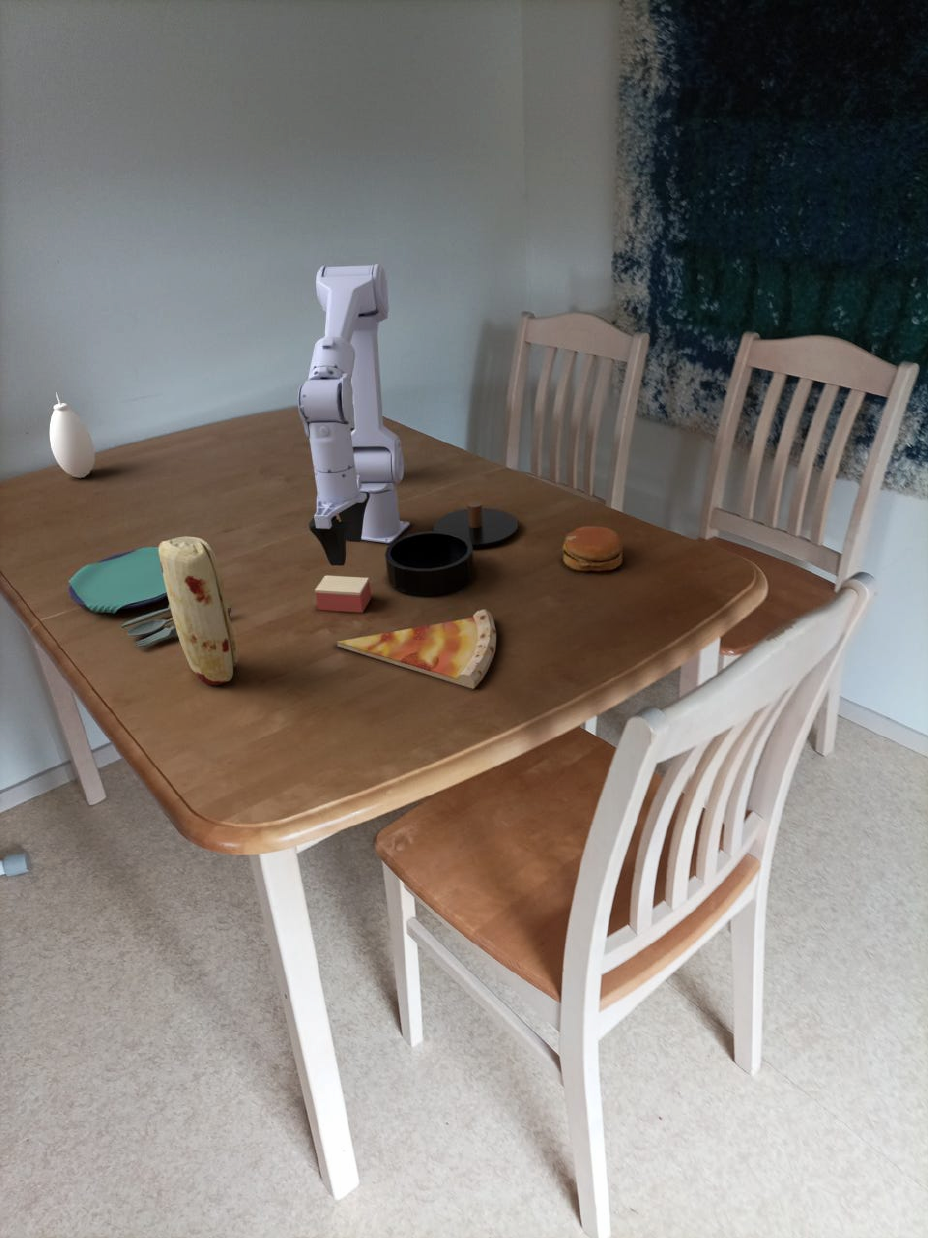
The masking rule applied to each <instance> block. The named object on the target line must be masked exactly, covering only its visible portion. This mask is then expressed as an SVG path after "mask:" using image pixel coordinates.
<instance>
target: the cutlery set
mask: <svg viewBox="0 0 928 1238" xmlns="http://www.w3.org/2000/svg"><path fill="white" fill-rule="evenodd" d="M158 548H159V546H156V547H155V546H151V547H149V546H145V547H142V548H139V549H136V550H130V551H126V552H122V553H118V554H114V555H111V556H109V557H107V558H104V559H101V560H99V561H97V562H93V563H90V564H86V565H84V566H83V567H82V568H80V569H79V571H77V572H76V573H75V574H74V575H73V576H72V577H71V578H69V580H68V581H67V582H68V583H69V587H68V592H69V595H70V599H71V600H73V601H74V602H75V603H77V604H78V605H79V606H82V607H86V608H88V610H90V611H91V612H93V613H99V614H100V613H102V614H104V613H108V614H115V613H116V612H117V611H118V610H126V609H132V608H133V609H134V608H138V607H142V606H146V605H149V604H153V603H156V602H159V601H161V600H164V599H166V598H168V595H167V591H166V587H165V582H164V577H163V572H162V568H161V563H160V557H159V551H158ZM228 608H229V613H230V614H231V613H232V608H231V606H229V605H228ZM169 612H170V613H171V614H172V611H171V607H170V604H168V605H167V608H164V609H159V610H157V611H152V612H150V613H147V614H144V615H142V616H139V617H136V618H133V619H130V620H128V621H126V622H124V623H122V624H121V626H120V627H121V629H125V628H127V627H129V626H132V625H135V624H136V625H135V626H132V627H131V628H130V629H129V630H127V632H126V634H127V636H129V637H144V636H148V635H150V636H148V637H145V638H144V639H141V640H138V641H135V642H134V644H135V647H137V648H138V649H139V648H143V647H147V646H149V645H151V644H154V643H157V642H162V641H166V640H168V639H170V638H173V637H174V636H175V635H178V634H177V631H176V627H175V625H171V626H170V627H164V626H165V625H167V624H169V623H171V622H174V620H173V616H172V617H170V618H169V619H164V618H163V619H162V618H161V619H160V618H159V619H154V618H156V617H158V616H160V615H164V614H167V613H169ZM152 618H153V619H152ZM149 619H151V620H149ZM147 620H148V621H147ZM141 622H142V623H141ZM138 623H139V624H138ZM163 627H164V628H163ZM162 628H163V629H162ZM161 629H162V630H161Z"/></svg>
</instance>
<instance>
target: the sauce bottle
mask: <svg viewBox="0 0 928 1238" xmlns="http://www.w3.org/2000/svg"><path fill="white" fill-rule="evenodd" d="M55 396H56V399H57V404H55V405H53V413H52V415H51V418H50V424H49V442H50V447H51V450H52V453H53V456H54V458H55V460H56V462H57V464H58V465H59V467H60V468H61V469H62V470H63V471H64V472H65V473H66V474H68V475H71V476H72V477H74V478H78V479H82V478H85V477H86V476H87V475H89V474H90V472H91V471H92V470H93V469H94V466H95V462H96V450H95V444H94V441H93V439H92V437H91V434H90V432H89V430H88V429H87V427H86V425H85V424H84V422H83V421H82V420H81V419H80V417H79V416H78V415H77V414H76V412H75V411H74V410H72V409H71V408H69V405H68V404H67V403H66V402H65V403H63V402H61V397H60V395H59V394H58V392H57V391H56V392H55ZM84 473H85V474H84ZM73 474H74V475H73Z"/></svg>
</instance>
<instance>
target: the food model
mask: <svg viewBox="0 0 928 1238" xmlns="http://www.w3.org/2000/svg"><path fill="white" fill-rule="evenodd" d="M158 547H159V548H158V551H159V557H160V563H161V568H162V572H163V577H164V582H165V587H166V591H167V595H168V597H167V599H168V603H169V605H170V607H171V611H172V613H171V616H172V617H173V623H174V627H176V631H177V634H176V635H177V637H178V640H179V643H180V646H181V648H182V651H183V653H184V655H185V658H186V660H187V663H188V666H189V667H190V669H191V671H192V672H193V673H194V675H195V676H196V677H197V678H198V679H199V680H200V681H202V682H203V683H204V684H207V685H210V686H220V685H222V684H225V683H228V682H230V681H231V680H232V677H233V676H234V675H233V674H234V667H235V666H236V664H237V663H238V660H239V659H238V651H237V644H236V639H235V634H234V629H233V623H232V619H231V613H229V608H228V606H229V603H228V599H227V596H226V592H225V587H224V582H223V579H222V573H221V568H220V565H219V562H218V559H217V556H216V554H215V552H214V550H213V548H211V546H210V544H209V543H208V542H206V540H204V539H202V538H201V537H196V536H186V535H185V536H179V537H173V538H171V539H168V540H162V541H161V542H160V543H159V545H158Z"/></svg>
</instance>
